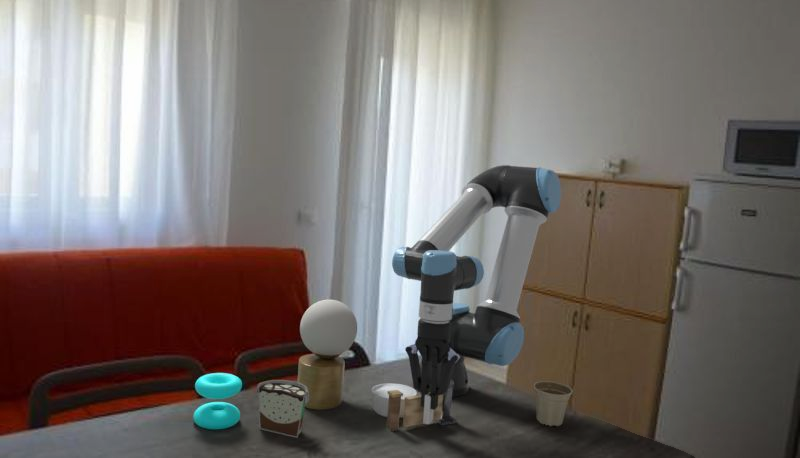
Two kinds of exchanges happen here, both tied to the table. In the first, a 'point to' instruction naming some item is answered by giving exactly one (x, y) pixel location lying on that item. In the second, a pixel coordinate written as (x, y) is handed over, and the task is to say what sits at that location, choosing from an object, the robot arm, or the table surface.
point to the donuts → (217, 412)
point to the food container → (282, 406)
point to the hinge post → (447, 407)
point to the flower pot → (551, 402)
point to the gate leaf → (418, 411)
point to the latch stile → (393, 409)
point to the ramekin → (382, 397)
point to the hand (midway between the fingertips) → (428, 421)
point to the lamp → (325, 351)
